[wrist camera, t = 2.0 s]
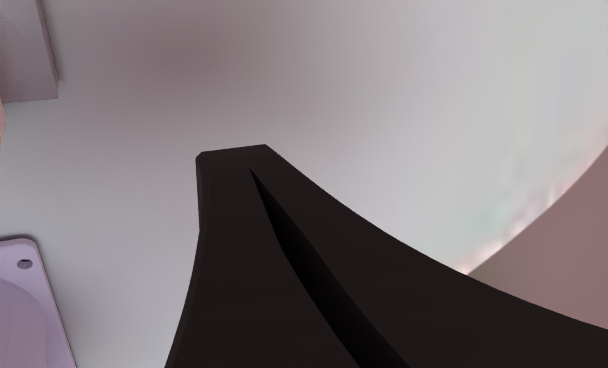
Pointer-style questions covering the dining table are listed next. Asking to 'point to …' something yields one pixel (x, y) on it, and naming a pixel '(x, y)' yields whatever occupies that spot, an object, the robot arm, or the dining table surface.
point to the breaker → (2, 122)
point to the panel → (25, 53)
